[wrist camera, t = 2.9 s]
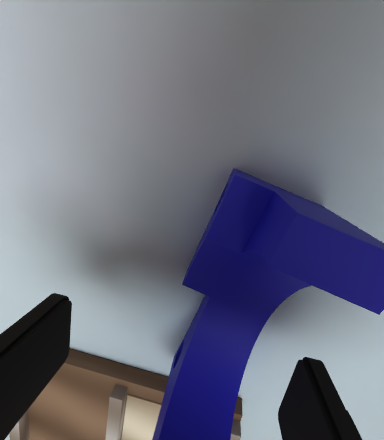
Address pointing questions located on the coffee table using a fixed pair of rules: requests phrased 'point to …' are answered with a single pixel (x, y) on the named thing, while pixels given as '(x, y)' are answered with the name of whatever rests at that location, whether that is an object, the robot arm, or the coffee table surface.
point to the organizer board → (99, 403)
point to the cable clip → (256, 293)
